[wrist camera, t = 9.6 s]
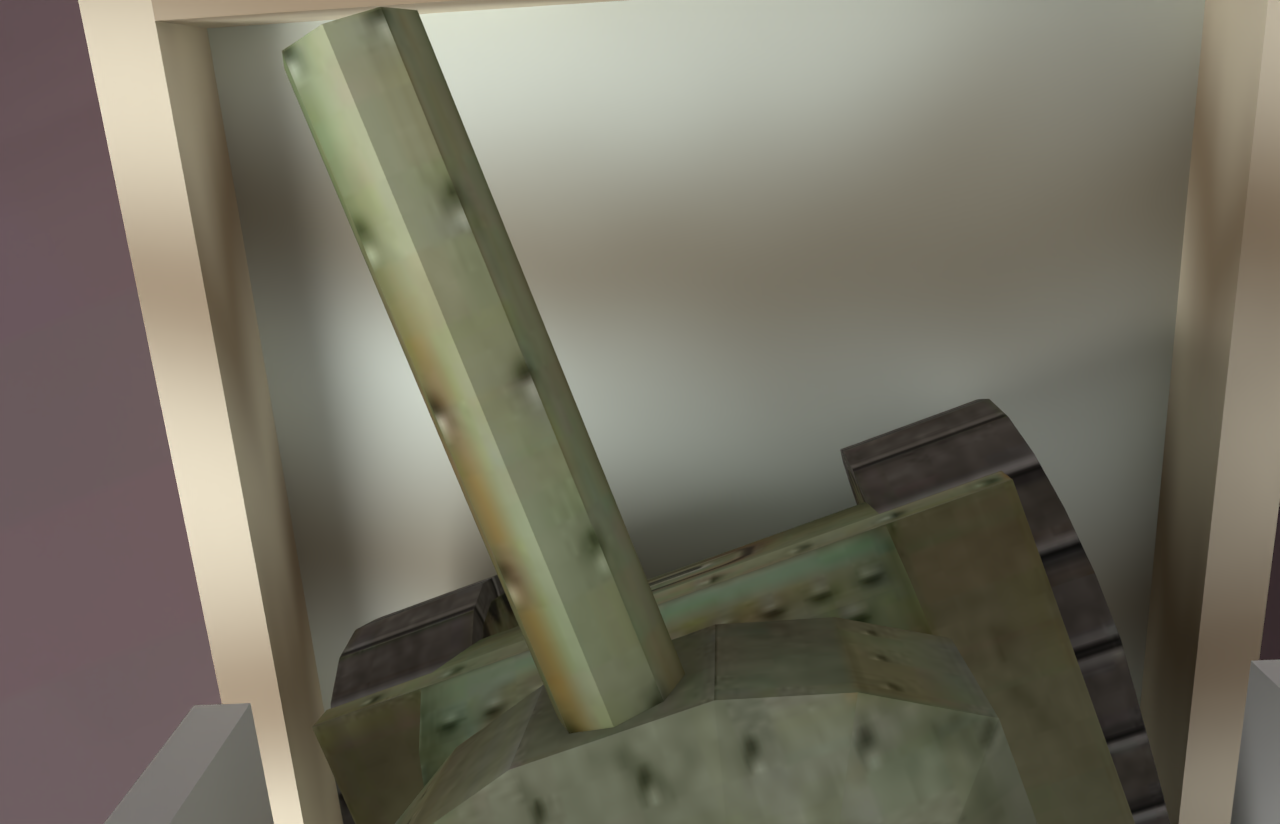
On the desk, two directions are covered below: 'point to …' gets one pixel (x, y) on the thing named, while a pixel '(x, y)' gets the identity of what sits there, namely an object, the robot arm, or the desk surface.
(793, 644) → the toy
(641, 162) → the beige tray
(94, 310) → the desk surface
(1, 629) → the desk surface
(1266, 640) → the desk surface
